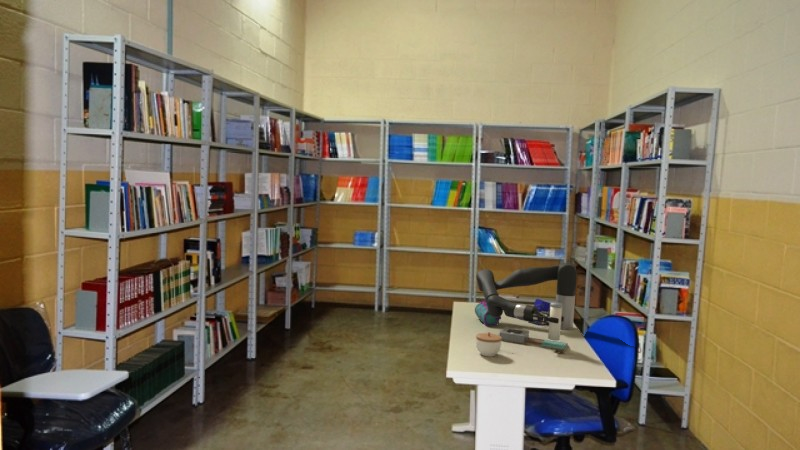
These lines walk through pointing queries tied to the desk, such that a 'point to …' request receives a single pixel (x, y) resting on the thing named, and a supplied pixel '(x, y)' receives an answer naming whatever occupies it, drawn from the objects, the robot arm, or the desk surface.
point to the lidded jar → (488, 343)
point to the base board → (538, 344)
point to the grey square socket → (514, 335)
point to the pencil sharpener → (541, 307)
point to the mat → (554, 344)
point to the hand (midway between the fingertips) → (560, 320)
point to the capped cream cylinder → (555, 327)
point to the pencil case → (485, 314)
